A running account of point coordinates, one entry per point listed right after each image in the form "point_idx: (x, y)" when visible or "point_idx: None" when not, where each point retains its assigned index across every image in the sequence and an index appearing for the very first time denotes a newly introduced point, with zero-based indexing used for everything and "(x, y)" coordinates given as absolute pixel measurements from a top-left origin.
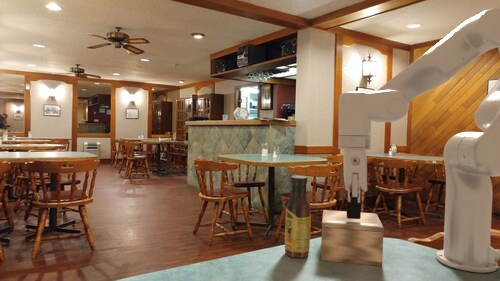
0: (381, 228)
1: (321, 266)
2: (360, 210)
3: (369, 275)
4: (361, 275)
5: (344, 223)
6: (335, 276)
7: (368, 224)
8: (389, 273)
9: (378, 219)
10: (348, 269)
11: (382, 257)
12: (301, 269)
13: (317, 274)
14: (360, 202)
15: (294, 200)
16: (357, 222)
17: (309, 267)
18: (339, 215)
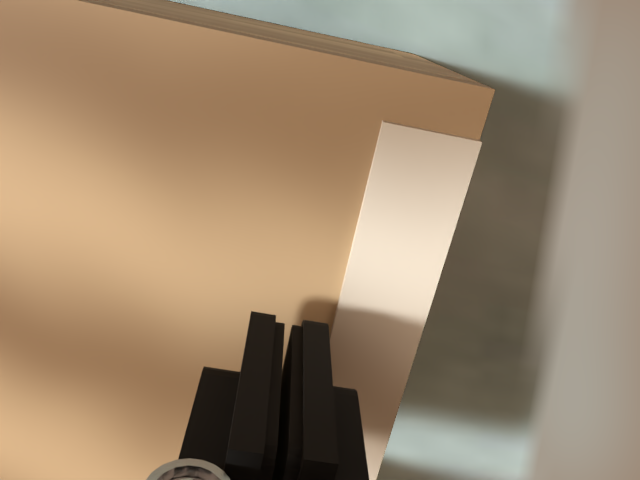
0: (486, 110)
1: (415, 393)
2: (332, 383)
3: (544, 179)
4: (540, 223)
5: (379, 446)
6: (542, 351)
7: (405, 237)
8: (524, 44)
9: (103, 20)
10: (456, 272)
11: (423, 58)
12: (452, 477)
13: (513, 421)
14: (311, 462)
15: None
16: (295, 314)
17: (428, 444)
18: (24, 422)
